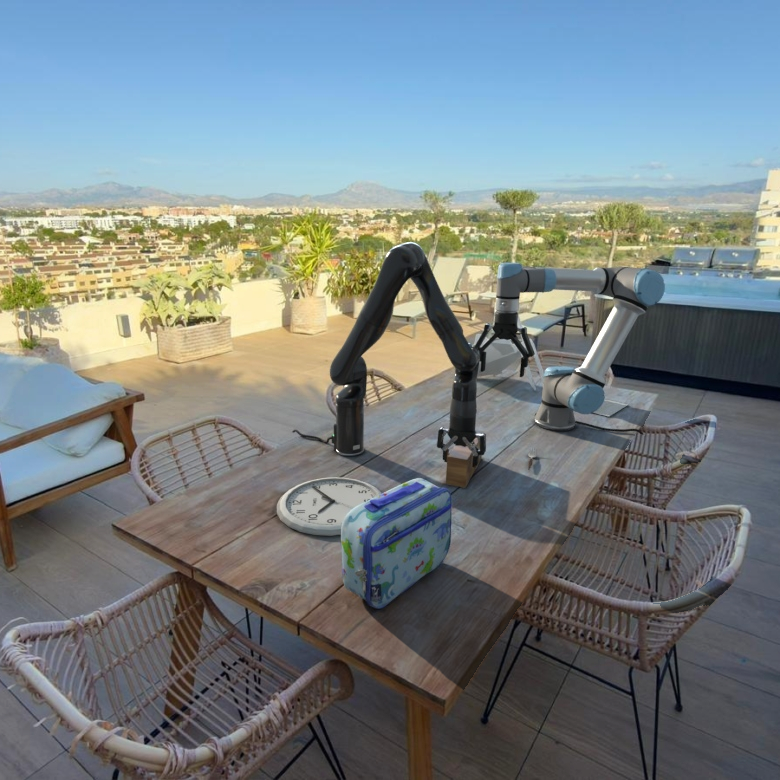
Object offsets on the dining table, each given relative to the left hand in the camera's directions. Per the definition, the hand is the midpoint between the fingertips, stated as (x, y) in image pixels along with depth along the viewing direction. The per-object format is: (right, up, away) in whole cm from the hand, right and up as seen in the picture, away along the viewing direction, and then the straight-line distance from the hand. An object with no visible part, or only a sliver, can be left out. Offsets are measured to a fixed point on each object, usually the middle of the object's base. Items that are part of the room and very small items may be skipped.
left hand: (460, 463), depth 156 cm
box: (+2, -3, +8) cm, 9 cm away
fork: (+25, -2, +16) cm, 30 cm away
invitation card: (+71, +15, +70) cm, 100 cm away
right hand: (+17, +28, +22) cm, 39 cm away
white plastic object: (+33, +25, +100) cm, 108 cm away
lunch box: (-19, -19, -43) cm, 51 cm away
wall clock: (-37, -9, -13) cm, 40 cm away
